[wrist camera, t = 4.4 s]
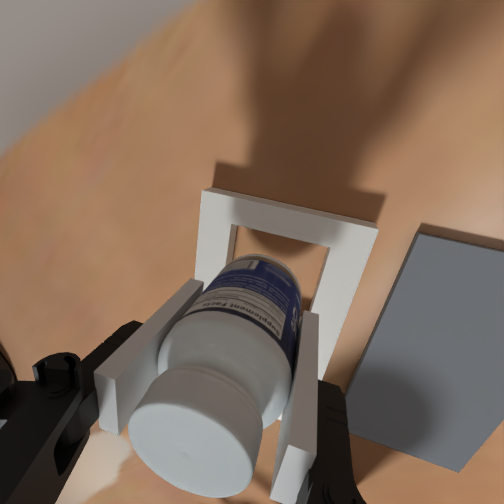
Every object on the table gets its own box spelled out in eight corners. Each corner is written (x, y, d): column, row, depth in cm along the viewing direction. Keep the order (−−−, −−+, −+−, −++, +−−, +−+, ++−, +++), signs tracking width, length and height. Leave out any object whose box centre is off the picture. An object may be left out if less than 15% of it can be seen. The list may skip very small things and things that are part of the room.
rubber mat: (332, 421, 23) (332, 427, 22) (416, 231, 16) (419, 234, 15) (455, 465, 21) (458, 472, 21) (613, 274, 14) (622, 278, 14)
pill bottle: (280, 340, 17) (238, 537, 8) (209, 303, 18) (97, 456, 9) (319, 275, 15) (315, 452, 6) (236, 236, 15) (121, 349, 7)
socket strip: (284, 466, 27) (282, 485, 25) (188, 427, 29) (180, 443, 27) (374, 222, 16) (379, 229, 15) (211, 186, 18) (201, 190, 17)
